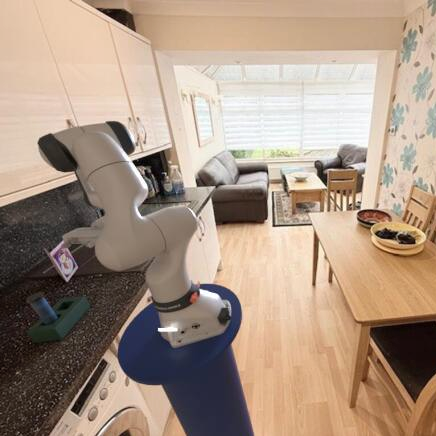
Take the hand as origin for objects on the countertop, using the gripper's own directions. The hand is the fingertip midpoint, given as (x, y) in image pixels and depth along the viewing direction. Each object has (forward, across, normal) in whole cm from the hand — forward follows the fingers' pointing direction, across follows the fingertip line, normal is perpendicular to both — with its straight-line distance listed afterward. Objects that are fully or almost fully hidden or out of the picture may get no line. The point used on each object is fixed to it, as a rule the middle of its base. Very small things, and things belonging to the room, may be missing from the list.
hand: (75, 246), depth 86 cm
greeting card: (-11, -26, +22) cm, 35 cm away
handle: (+18, 0, +22) cm, 28 cm away
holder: (+14, -1, +22) cm, 26 cm away
